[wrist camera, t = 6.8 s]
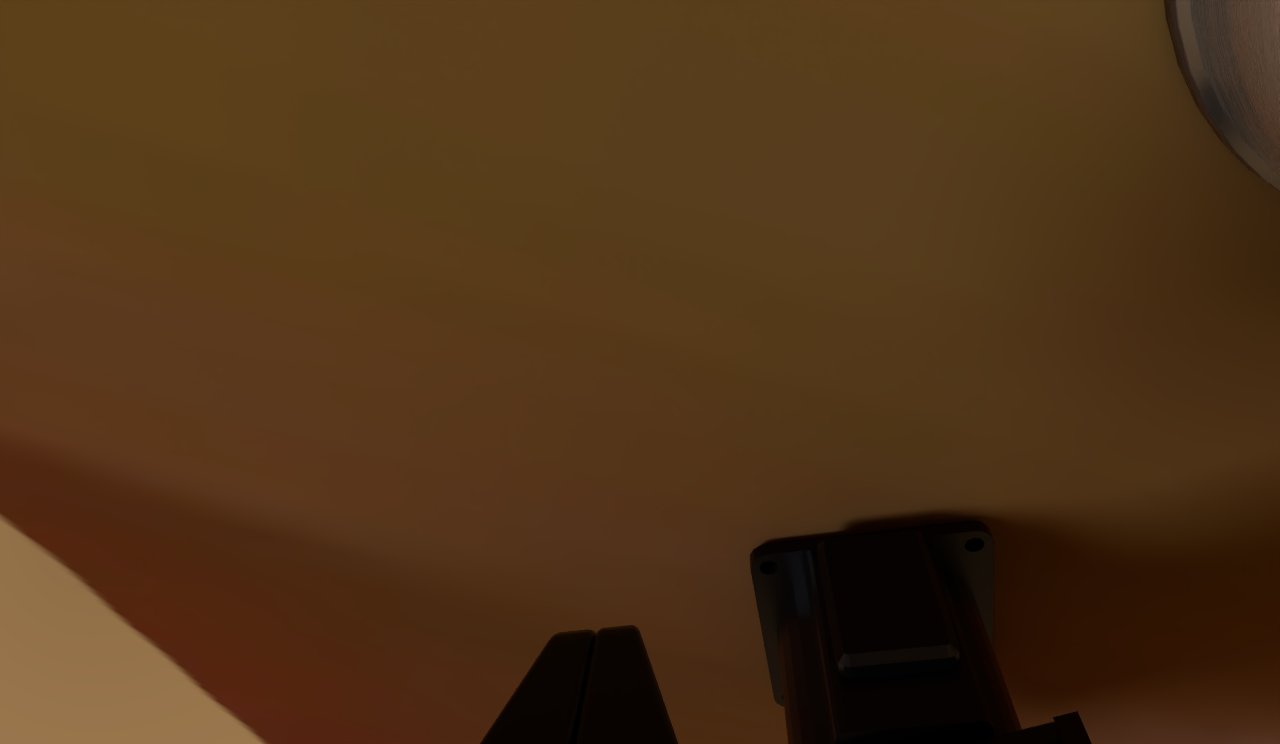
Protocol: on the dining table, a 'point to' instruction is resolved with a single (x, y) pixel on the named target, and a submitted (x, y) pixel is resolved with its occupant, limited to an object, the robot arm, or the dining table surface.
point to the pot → (1234, 73)
